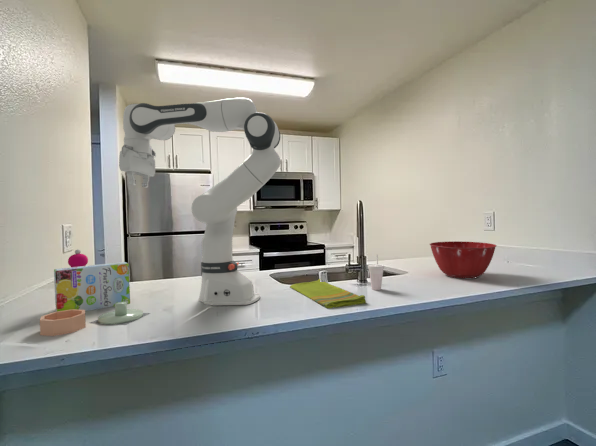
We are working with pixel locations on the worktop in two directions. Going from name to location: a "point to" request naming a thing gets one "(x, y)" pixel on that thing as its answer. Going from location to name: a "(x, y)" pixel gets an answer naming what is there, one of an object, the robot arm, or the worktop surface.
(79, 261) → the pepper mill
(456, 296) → the worktop surface
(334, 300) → the dish towel
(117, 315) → the lid
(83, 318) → the bowl
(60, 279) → the snack box
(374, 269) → the smoothie
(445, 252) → the mixing bowl
